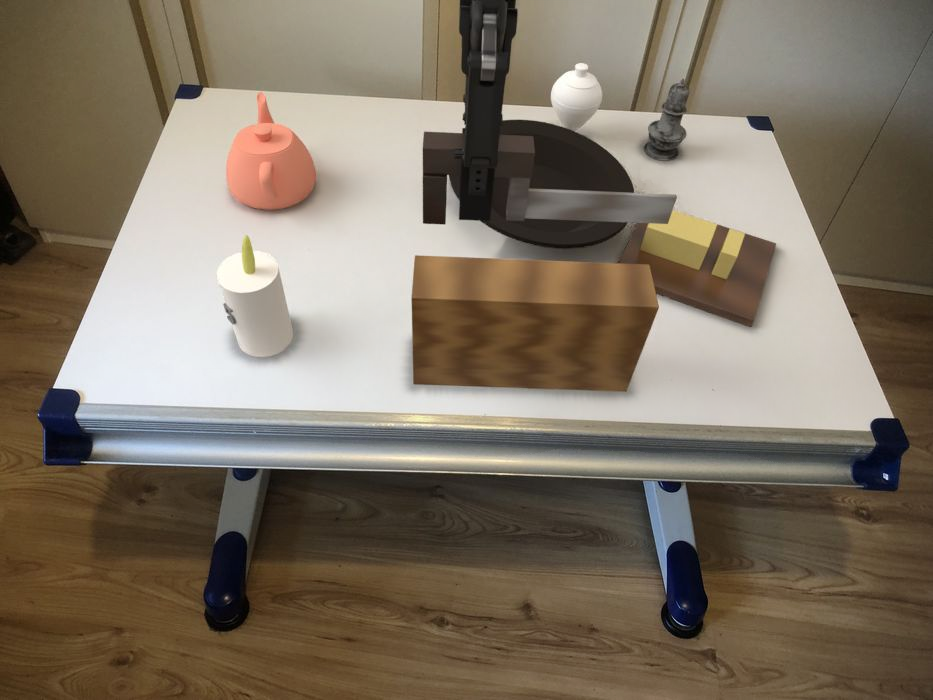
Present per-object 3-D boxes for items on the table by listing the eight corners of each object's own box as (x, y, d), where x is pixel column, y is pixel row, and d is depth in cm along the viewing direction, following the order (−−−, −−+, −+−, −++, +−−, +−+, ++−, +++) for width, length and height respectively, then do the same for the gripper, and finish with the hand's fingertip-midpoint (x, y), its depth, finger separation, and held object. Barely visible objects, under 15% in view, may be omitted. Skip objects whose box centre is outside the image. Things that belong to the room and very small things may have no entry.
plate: (415, 176, 100) (415, 142, 96) (551, 137, 109) (557, 104, 104) (514, 300, 85) (519, 268, 81) (664, 244, 93) (675, 212, 89)
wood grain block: (413, 384, 76) (411, 297, 66) (416, 343, 80) (414, 254, 69) (626, 392, 77) (659, 307, 66) (619, 350, 81) (649, 264, 70)
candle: (225, 335, 80) (191, 237, 68) (272, 308, 83) (247, 209, 71) (256, 367, 77) (226, 270, 65) (304, 337, 80) (283, 240, 68)
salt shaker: (678, 165, 105) (702, 93, 96) (640, 157, 106) (660, 85, 97) (681, 144, 109) (705, 72, 100) (644, 136, 110) (664, 65, 101)
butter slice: (726, 279, 88) (737, 256, 85) (711, 274, 88) (721, 251, 85) (734, 256, 91) (745, 233, 88) (719, 251, 91) (729, 228, 88)
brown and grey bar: (422, 224, 60) (422, 150, 55) (424, 202, 62) (424, 129, 56) (670, 233, 61) (696, 161, 55) (664, 212, 63) (688, 140, 57)
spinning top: (588, 124, 111) (603, 52, 102) (596, 152, 106) (613, 79, 97) (541, 123, 111) (552, 51, 101) (548, 152, 106) (559, 79, 97)
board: (750, 327, 84) (754, 320, 84) (611, 277, 89) (613, 271, 88) (773, 249, 94) (776, 243, 93) (646, 208, 98) (648, 201, 97)
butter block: (698, 270, 89) (708, 247, 86) (639, 250, 91) (647, 226, 88) (707, 247, 92) (717, 224, 89) (650, 228, 94) (657, 204, 91)
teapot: (229, 228, 91) (212, 168, 84) (231, 149, 102) (216, 90, 95) (321, 220, 93) (312, 161, 86) (313, 143, 104) (305, 85, 97)
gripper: (438, -140, 47) (435, 153, 65) (429, -52, 38) (428, 264, 56) (546, -134, 48) (513, 156, 66) (565, -45, 38) (520, 268, 56)
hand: (474, 205), depth 61 cm, fingers closed on brown and grey bar, 2 cm apart
